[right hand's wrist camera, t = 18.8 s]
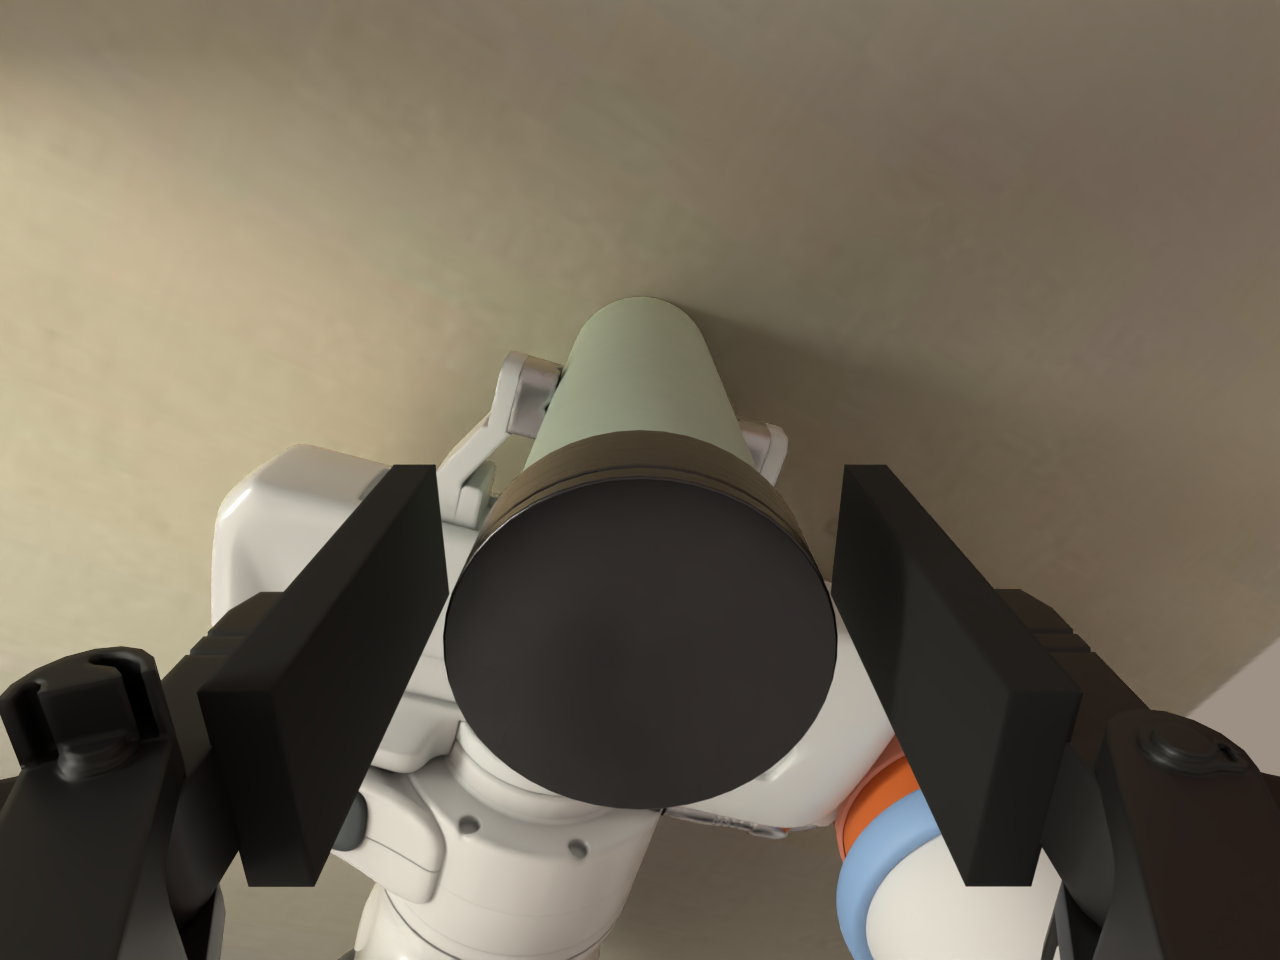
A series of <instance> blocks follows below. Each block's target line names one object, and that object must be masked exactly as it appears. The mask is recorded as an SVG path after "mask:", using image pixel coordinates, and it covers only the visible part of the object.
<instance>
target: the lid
mask: <svg viewBox="0 0 1280 960" xmlns="http://www.w3.org/2000/svg"><path fill="white" fill-rule="evenodd" d="M837 647H838V633H837V624H836V616H835V611H834V608H833V604H832V601H831V597H830V594H829V591H828V589H827V587H826V585H825V582H824V580H823V578H822V576H821V574H820V572H819V569H818V567H817V565H816V563H815V561H814V559H813V556H812V554H811V552H810V550H809V548H808V545H807V543H806V541H805V539H804V537H803V535H802V532H801V530H800V528H799V526H798V524H797V522H796V519H795V517H794V515H793V513H792V512H791V510H790V509H789V507H788V506H787V504H786V502H785V501H784V499H783V498H782V496H781V495H780V494H779V493H778V492H777V491H776V489H775V488H774V487H773V486H772V485H771V484H770V483H769V481H768V480H767V479H765V478H764V477H763V476H762V475H761V474H760V473H758V472H757V471H756V470H755V469H754V468H753V467H751V466H750V465H749V464H747V463H746V462H744V461H743V460H741V459H740V458H738V457H736V456H735V455H733V454H732V453H730V452H728V451H726V450H724V449H721V448H719V447H717V446H715V445H713V444H711V443H708V442H705V441H702V440H699V439H696V438H693V437H690V436H686V435H680V434H675V433H670V432H664V431H648V430H632V431H617V432H611V433H606V434H601V435H595V436H591V437H588V438H585V439H582V440H579V441H576V442H573V443H570V444H568V445H566V446H564V447H561V448H559V449H557V450H555V451H553V452H551V453H549V454H547V455H546V456H544V457H543V458H541V459H540V460H538V461H537V462H535V463H534V464H532V465H531V466H529V467H528V468H527V469H526V470H525V471H523V472H522V473H521V474H520V475H519V476H518V477H517V478H515V479H514V480H513V481H512V482H511V483H510V485H509V486H508V487H507V488H506V489H505V490H504V491H503V493H502V494H501V495H500V496H499V497H498V499H497V501H496V502H495V504H494V505H493V507H492V508H491V510H490V511H489V513H488V514H487V517H486V519H485V521H484V523H483V525H482V528H481V530H480V532H479V534H478V536H477V538H476V541H475V543H474V545H473V547H472V549H471V552H470V554H469V556H468V558H467V560H466V562H465V565H464V567H463V569H462V571H461V573H460V576H459V578H458V580H457V582H456V584H455V587H454V589H453V591H452V593H451V597H450V600H449V604H448V608H447V611H446V615H445V623H444V632H443V651H444V662H445V667H446V672H447V677H448V682H449V684H450V687H451V690H452V693H453V696H454V698H455V701H456V703H457V705H458V707H459V709H460V711H461V713H462V714H463V716H464V718H465V720H466V722H467V723H468V724H469V726H470V727H471V729H472V730H473V731H474V733H475V734H476V736H477V737H478V738H479V739H480V740H481V742H482V743H483V744H484V745H485V746H486V747H487V748H488V749H489V750H490V751H491V752H492V753H493V754H494V755H495V756H496V757H497V758H499V759H500V760H501V761H502V762H503V763H505V764H506V765H507V766H508V767H509V768H511V769H512V770H514V771H515V772H517V773H518V774H520V775H521V776H523V777H524V778H526V779H527V780H529V781H531V782H533V783H535V784H537V785H539V786H541V787H543V788H545V789H547V790H549V791H551V792H554V793H556V794H559V795H562V796H564V797H567V798H570V799H573V800H577V801H581V802H584V803H588V804H592V805H597V806H604V807H611V808H617V809H638V810H643V809H663V808H670V807H677V806H683V805H689V804H693V803H696V802H700V801H704V800H708V799H711V798H714V797H716V796H719V795H722V794H724V793H727V792H730V791H732V790H734V789H736V788H738V787H740V786H742V785H744V784H746V783H748V782H750V781H752V780H753V779H755V778H756V777H758V776H760V775H761V774H763V773H764V772H766V771H767V770H769V769H770V768H771V767H773V766H774V765H775V764H776V763H777V762H779V761H780V760H781V759H782V758H783V757H785V756H786V755H787V754H788V753H789V752H790V751H791V750H792V749H793V748H794V747H795V746H796V744H797V743H798V742H799V741H800V740H801V739H802V738H803V737H804V735H805V734H806V733H807V731H808V730H809V728H810V727H811V726H812V724H813V723H814V721H815V720H816V718H817V716H818V714H819V712H820V710H821V708H822V707H823V705H824V703H825V701H826V698H827V695H828V692H829V689H830V687H831V684H832V681H833V677H834V672H835V666H836V661H837Z"/></svg>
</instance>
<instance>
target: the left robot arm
mask: <svg viewBox="0 0 1280 960" xmlns="http://www.w3.org/2000/svg"><path fill="white" fill-rule="evenodd" d="M562 370H563V365H560V364H557V363H554V362H550V361H547V360H544V359H540V358H537V357H534V356H531V355H529V354H525V353H521V352H517V351H513V350H511V351H510V353H509V354H508V355H507V357H506V358H505V360H504V363H503V366H502V369H501V372H500V375H499V378H498V383H497V387H496V391H495V396H494V400H493V405H492V409H491V411H490V412H489V413H488V414H487V415H486V416H485V417H484V418H483V419H482V420H481V421H480V422H479V423H478V424H477V425H476V426H475V427H474V428H473V429H472V430H471V431H470V432H469V433H468V434H467V435H466V436H465V437H464V438H463V439H462V440H461V441H460V442H459V443H458V444H457V445H456V446H455V447H454V448H453V449H452V450H451V451H450V452H449V454H448V455H447V457H446V458H445V459H444V461H443V462H442V464H441V465H440V467H439V468H438V469H437V471H436V475H437V484H438V493H439V503H440V512H441V521H442V530H443V539H444V549H445V558H446V567H447V576H448V585H449V596H448V598H447V601H446V603H445V605H444V607H443V609H442V611H441V614H440V616H439V618H438V620H437V622H436V624H435V627H434V629H433V631H432V633H431V635H430V637H429V640H428V642H427V644H426V646H425V648H424V650H423V653H422V655H421V657H420V659H419V661H418V663H417V666H416V668H415V670H414V672H413V674H412V676H411V679H410V681H409V683H408V685H407V687H406V689H405V692H404V694H403V696H402V698H401V700H400V702H399V704H398V707H397V709H396V711H395V713H394V715H393V717H392V720H391V722H390V724H389V726H388V728H387V730H386V733H385V735H384V737H383V739H382V741H381V743H380V746H379V748H378V750H377V752H376V754H375V756H374V759H373V761H372V763H371V765H370V767H369V769H368V772H367V774H366V776H365V778H364V780H363V782H362V785H361V787H360V789H359V791H358V793H357V795H356V798H355V800H354V802H353V804H352V806H351V808H350V811H349V813H348V815H347V817H346V819H345V821H344V823H343V826H342V828H341V830H340V832H339V834H338V836H337V839H336V841H335V843H334V845H333V847H332V849H331V852H330V853H332V854H334V855H335V856H337V857H339V858H340V859H342V860H344V861H345V862H347V863H348V864H350V865H352V866H353V867H355V868H356V869H358V870H359V871H361V872H362V873H364V874H365V875H367V876H368V877H369V878H371V879H372V880H374V881H375V882H376V883H375V885H374V887H373V889H372V891H371V893H370V895H369V897H368V899H367V902H366V904H365V907H364V910H363V913H362V917H361V920H360V924H359V928H358V933H357V937H356V942H355V948H354V949H352V950H351V951H349V952H348V953H346V954H345V955H343V956H342V957H341V958H339V959H338V960H599V954H600V944H601V943H602V942H603V941H604V939H605V938H606V937H607V936H608V934H609V933H610V932H611V930H612V929H613V927H614V925H615V923H616V922H617V920H618V918H619V916H620V915H621V913H622V910H623V908H624V905H625V903H626V901H627V898H628V896H629V893H630V891H631V888H632V886H633V883H634V881H635V878H636V876H637V873H638V870H639V868H640V865H641V863H642V860H643V858H644V855H645V853H646V850H647V848H648V845H649V843H650V840H651V838H652V835H653V833H654V830H655V828H656V825H657V823H658V820H659V818H660V815H662V816H667V817H671V818H675V819H680V820H684V821H689V822H693V823H698V824H703V825H711V826H712V825H713V826H722V827H730V828H736V829H739V830H744V831H746V832H747V833H748V834H750V835H753V836H756V837H760V838H765V839H785V838H786V837H787V836H788V833H789V831H803V830H809V829H812V828H815V827H818V826H821V827H824V826H828V825H830V824H832V823H833V822H834V821H835V820H836V817H837V811H838V808H839V805H840V804H841V803H842V802H843V801H844V800H845V799H846V798H847V797H848V796H849V794H850V793H851V792H852V791H853V790H854V788H855V787H856V786H857V785H858V784H859V782H860V781H861V780H862V779H863V777H864V776H865V775H866V774H867V772H868V771H869V770H870V768H871V767H872V766H873V764H874V763H875V762H876V760H877V759H878V758H879V756H880V755H881V754H882V752H883V751H884V749H885V748H886V746H887V745H888V744H889V742H890V741H891V739H892V738H893V736H894V735H895V733H894V730H893V728H892V726H891V724H890V722H889V720H888V717H887V715H886V713H885V711H884V709H883V707H882V704H881V702H880V700H879V698H878V696H877V694H876V692H875V689H874V687H873V685H872V683H871V681H870V679H869V676H868V674H867V672H866V670H865V668H864V666H863V663H862V661H861V659H860V657H859V655H858V653H857V650H856V648H855V646H854V644H853V642H852V640H851V637H850V635H849V633H848V631H847V629H846V627H845V624H844V622H843V620H842V618H841V616H840V614H839V611H838V609H837V607H836V605H835V603H834V601H833V598H832V596H831V585H832V583H831V582H828V581H824V582H825V585H826V587H827V589H828V591H829V594H830V597H831V601H832V604H833V608H834V611H835V616H836V624H837V633H838V647H837V661H836V666H835V672H834V677H833V681H832V684H831V687H830V689H829V692H828V695H827V698H826V701H825V703H824V705H823V707H822V708H821V710H820V712H819V714H818V716H817V718H816V720H815V721H814V723H813V724H812V726H811V727H810V728H809V730H808V731H807V733H806V734H805V735H804V737H803V738H802V739H801V740H800V741H799V742H798V743H797V744H796V746H795V747H794V748H793V749H792V750H791V751H790V752H789V753H788V754H787V755H786V756H785V757H783V758H782V759H781V760H780V761H779V762H777V763H776V764H775V765H774V766H773V767H771V768H770V769H769V770H767V771H766V772H764V773H763V774H761V775H760V776H758V777H756V778H755V779H753V780H752V781H750V782H748V783H746V784H744V785H742V786H740V787H738V788H736V789H734V790H732V791H730V792H727V793H724V794H722V795H719V796H716V797H714V798H711V799H708V800H704V801H700V802H696V803H693V804H689V805H683V806H677V807H670V808H663V809H643V810H638V809H617V808H611V807H604V806H597V805H592V804H588V803H584V802H581V801H577V800H573V799H570V798H567V797H564V796H562V795H559V794H556V793H554V792H551V791H549V790H547V789H545V788H543V787H541V786H539V785H537V784H535V783H533V782H531V781H529V780H527V779H526V778H524V777H523V776H521V775H520V774H518V773H517V772H515V771H514V770H512V769H511V768H509V767H508V766H507V765H506V764H505V763H503V762H502V761H501V760H500V759H499V758H497V757H496V756H495V755H494V754H493V753H492V752H491V751H490V750H489V749H488V748H487V747H486V746H485V745H484V744H483V743H482V742H481V740H480V739H479V738H478V737H477V736H476V734H475V733H474V731H473V730H472V729H471V727H470V726H469V724H468V723H467V722H466V720H465V718H464V716H463V714H462V713H461V711H460V709H459V707H458V705H457V703H456V701H455V698H454V696H453V693H452V690H451V687H450V684H449V682H448V677H447V672H446V667H445V662H444V651H443V632H444V623H445V615H446V611H447V608H448V604H449V600H450V597H451V593H452V591H453V589H454V587H455V584H456V582H457V580H458V578H459V576H460V573H461V571H462V569H463V567H464V565H465V562H466V560H467V558H468V556H469V554H470V552H471V549H472V547H473V545H474V543H475V541H476V538H477V536H478V534H479V532H480V530H481V528H482V525H483V523H484V521H485V519H486V517H487V514H488V513H489V511H490V510H491V508H492V507H493V505H494V504H495V502H496V501H497V499H498V497H499V496H500V495H498V494H494V493H491V489H492V484H493V479H494V475H495V470H496V465H495V464H494V462H491V461H487V460H486V459H487V458H488V457H489V456H490V455H491V454H492V453H493V452H494V451H495V450H496V449H497V448H498V447H499V446H500V445H501V444H502V443H503V442H504V441H505V440H506V439H507V438H508V437H509V436H510V435H511V434H512V433H513V434H517V435H521V436H525V437H529V438H533V439H536V437H537V435H538V432H539V430H540V427H541V425H542V422H543V420H544V417H545V415H546V412H547V410H548V407H549V405H550V403H551V400H552V398H553V395H554V393H555V390H556V388H557V385H558V383H559V380H560V378H561V374H562ZM735 416H736V419H737V421H738V423H739V426H740V428H741V431H742V433H743V436H744V438H745V441H746V443H747V446H748V448H749V450H750V453H751V455H752V458H753V460H754V463H755V465H756V468H757V470H758V473H760V474H761V475H762V476H763V477H764V478H765V479H767V480H768V481H769V483H770V484H771V485H772V486H773V487H774V486H775V483H776V481H777V478H778V475H779V473H780V470H781V468H782V465H783V462H784V460H785V457H786V455H787V448H788V438H787V436H786V434H785V432H784V431H783V429H782V427H780V426H776V425H773V424H769V423H766V422H763V421H759V420H755V419H751V418H748V417H744V416H740V415H737V414H735ZM392 467H393V466H389V465H385V464H381V463H377V462H374V461H370V460H366V459H362V458H359V457H355V456H351V455H347V454H343V453H340V452H336V451H332V450H329V449H325V448H321V447H318V446H313V445H308V444H298V445H294V446H292V447H290V448H288V449H286V450H284V451H283V452H281V453H279V454H278V455H276V456H274V457H273V458H271V459H269V460H268V461H266V462H265V463H263V464H262V465H260V466H259V467H257V468H256V469H254V470H253V471H252V472H251V473H249V474H248V475H247V476H246V477H245V478H244V479H242V480H241V481H240V482H239V483H238V484H236V485H235V487H234V488H233V489H232V490H231V491H230V492H229V493H228V495H227V496H226V497H225V499H224V500H223V502H222V504H221V506H220V508H219V511H218V514H217V518H216V524H215V531H214V540H213V552H212V573H211V615H212V627H213V626H214V625H215V624H216V623H217V622H218V621H219V620H220V619H221V618H222V617H223V616H224V615H225V614H226V613H227V612H228V611H229V610H230V609H232V608H234V607H235V606H237V605H239V604H240V603H242V602H244V601H246V600H247V599H249V598H251V597H252V596H254V595H256V594H257V593H259V592H284V591H285V590H286V588H287V587H288V586H289V585H290V584H291V583H292V581H293V580H294V579H295V578H296V577H297V576H298V575H299V573H300V572H301V571H302V570H303V569H304V568H305V567H306V565H307V564H308V563H309V562H310V561H311V560H312V558H313V557H314V556H315V555H316V554H317V553H318V552H319V550H320V549H321V548H322V547H323V546H324V545H325V544H326V542H327V541H328V540H329V539H330V538H331V537H332V536H333V534H334V533H335V532H336V531H337V530H338V529H339V527H340V526H341V525H342V524H343V523H344V522H345V521H346V519H347V518H348V517H349V516H350V515H351V514H352V513H353V511H354V510H355V509H356V508H357V507H358V506H359V504H360V503H361V502H362V501H363V500H364V499H365V498H366V496H367V495H368V494H369V493H370V492H371V491H372V490H373V488H374V487H375V486H376V485H377V484H378V483H379V481H380V480H381V479H382V478H383V477H384V476H385V475H386V473H387V472H388V471H389V470H390V469H391V468H392Z"/></svg>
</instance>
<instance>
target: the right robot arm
mask: <svg viewBox="0 0 1280 960" xmlns="http://www.w3.org/2000/svg"><path fill="white" fill-rule="evenodd" d="M448 596H449V585H448V576H447V567H446V558H445V549H444V539H443V530H442V521H441V512H440V503H439V493H438V484H437V475H436V466H435V465H393V467H392V468H391V469H390V470H389V471H388V472H387V473H386V475H385V476H384V477H383V478H382V479H381V480H380V481H379V483H378V484H377V485H376V486H375V487H374V488H373V490H372V491H371V492H370V493H369V494H368V495H367V496H366V498H365V499H364V500H363V501H362V502H361V503H360V504H359V506H358V507H357V508H356V509H355V510H354V511H353V513H352V514H351V515H350V516H349V517H348V518H347V519H346V521H345V522H344V523H343V524H342V525H341V526H340V527H339V529H338V530H337V531H336V532H335V533H334V534H333V536H332V537H331V538H330V539H329V540H328V541H327V542H326V544H325V545H324V546H323V547H322V548H321V549H320V550H319V552H318V553H317V554H316V555H315V556H314V557H313V558H312V560H311V561H310V562H309V563H308V564H307V565H306V567H305V568H304V569H303V570H302V571H301V572H300V573H299V575H298V576H297V577H296V578H295V579H294V580H293V581H292V583H291V584H290V585H289V586H288V587H287V588H286V590H285V591H284V592H259V593H257V594H256V595H254V596H252V597H251V598H249V599H247V600H246V601H244V602H242V603H240V604H239V605H237V606H235V607H234V608H232V609H230V610H229V611H228V612H227V613H226V614H225V615H224V616H223V617H222V618H221V619H220V620H219V621H218V622H217V623H216V624H215V625H214V626H213V627H212V628H211V629H210V630H209V631H208V636H207V637H203V638H202V639H201V640H200V641H199V642H198V643H197V644H196V645H195V646H194V647H193V648H192V649H191V650H190V655H185V656H184V657H183V658H182V660H181V661H180V662H179V663H178V664H177V665H176V666H175V667H174V668H173V669H172V670H171V671H170V672H169V673H168V674H167V675H166V676H165V677H164V678H163V679H162V680H160V677H159V673H158V670H157V666H156V663H155V659H154V657H153V656H151V655H150V654H148V653H147V652H145V651H144V650H142V649H137V648H130V647H122V646H120V647H110V648H100V649H93V650H89V651H85V652H81V653H78V654H74V655H70V656H66V657H63V658H61V659H59V660H56V661H54V662H52V663H49V664H47V665H44V666H42V667H40V668H37V669H35V670H34V671H32V672H30V673H29V674H27V675H26V676H24V677H23V678H21V679H19V680H18V681H16V682H15V683H13V684H11V685H10V686H9V687H8V688H7V689H6V691H5V692H4V693H3V694H2V695H1V696H0V715H1V718H2V721H3V723H4V726H5V728H6V731H7V733H8V736H9V738H10V741H11V743H12V746H13V749H14V751H15V754H16V756H17V759H18V761H19V764H20V766H21V769H22V770H21V772H20V774H19V776H17V777H12V778H7V779H3V780H0V960H220V955H221V947H222V939H223V931H224V923H225V914H226V913H225V906H224V900H223V895H222V892H221V888H220V885H219V882H220V880H221V879H222V877H223V875H224V874H225V872H226V870H227V869H228V867H229V865H230V864H231V862H232V860H233V859H234V857H235V855H236V854H237V852H238V850H239V853H240V856H241V860H242V864H243V868H244V871H245V875H246V879H247V882H248V886H249V887H314V886H315V884H316V882H317V880H318V878H319V875H320V873H321V871H322V869H323V867H324V865H325V862H326V860H327V858H328V856H329V854H330V852H331V849H332V847H333V845H334V843H335V841H336V839H337V836H338V834H339V832H340V830H341V828H342V826H343V823H344V821H345V819H346V817H347V815H348V813H349V811H350V808H351V806H352V804H353V802H354V800H355V798H356V795H357V793H358V791H359V789H360V787H361V785H362V782H363V780H364V778H365V776H366V774H367V772H368V769H369V767H370V765H371V763H372V761H373V759H374V756H375V754H376V752H377V750H378V748H379V746H380V743H381V741H382V739H383V737H384V735H385V733H386V730H387V728H388V726H389V724H390V722H391V720H392V717H393V715H394V713H395V711H396V709H397V707H398V704H399V702H400V700H401V698H402V696H403V694H404V692H405V689H406V687H407V685H408V683H409V681H410V679H411V676H412V674H413V672H414V670H415V668H416V666H417V663H418V661H419V659H420V657H421V655H422V653H423V650H424V648H425V646H426V644H427V642H428V640H429V637H430V635H431V633H432V631H433V629H434V627H435V624H436V622H437V620H438V618H439V616H440V614H441V611H442V609H443V607H444V605H445V603H446V601H447V598H448ZM831 596H832V598H833V601H834V603H835V605H836V607H837V609H838V611H839V614H840V616H841V618H842V620H843V622H844V624H845V627H846V629H847V631H848V633H849V635H850V637H851V640H852V642H853V644H854V646H855V648H856V650H857V653H858V655H859V657H860V659H861V661H862V663H863V666H864V668H865V670H866V672H867V674H868V676H869V679H870V681H871V683H872V685H873V687H874V689H875V692H876V694H877V696H878V698H879V700H880V702H881V704H882V707H883V709H884V711H885V713H886V715H887V717H888V720H889V722H890V724H891V726H892V728H893V730H894V733H895V735H896V737H897V739H898V741H899V743H900V746H901V748H902V750H903V752H904V754H905V756H906V759H907V761H908V763H909V765H910V767H911V769H912V772H913V774H914V776H915V778H916V780H917V782H918V785H919V787H920V789H921V791H922V793H923V795H924V798H925V800H926V802H927V804H928V806H929V808H930V811H931V813H932V815H933V817H934V819H935V821H936V824H937V826H938V828H939V830H940V832H941V834H942V836H943V839H944V841H945V843H946V845H947V847H948V849H949V852H950V854H951V856H952V858H953V860H954V862H955V865H956V867H957V869H958V871H959V873H960V875H961V878H962V880H963V882H964V884H965V886H966V887H1031V886H1032V882H1033V879H1034V875H1035V871H1036V868H1037V864H1038V860H1039V856H1040V853H1041V849H1042V848H1043V850H1044V851H1045V853H1046V855H1047V856H1048V858H1049V860H1050V861H1051V863H1052V865H1053V866H1054V868H1055V870H1056V871H1057V873H1058V875H1059V876H1060V878H1061V880H1062V881H1061V885H1060V888H1059V892H1058V895H1057V899H1056V902H1055V905H1054V909H1053V912H1052V916H1051V919H1050V923H1049V926H1048V930H1047V933H1046V937H1045V940H1044V944H1043V949H1042V956H1041V960H1053V958H1054V955H1055V952H1056V948H1057V947H1058V946H1059V953H1060V960H1280V777H1279V776H1275V775H1270V774H1265V773H1262V772H1260V770H1259V769H1258V767H1257V766H1256V765H1255V764H1254V762H1253V761H1252V760H1251V758H1250V757H1249V756H1248V755H1247V753H1246V752H1245V751H1244V750H1243V749H1241V748H1240V747H1239V746H1237V745H1236V744H1235V743H1233V742H1232V741H1231V740H1229V739H1228V738H1226V737H1225V736H1224V735H1222V734H1221V733H1219V732H1217V731H1215V730H1213V729H1211V728H1209V727H1207V726H1205V725H1203V724H1201V723H1199V722H1196V721H1194V720H1191V719H1188V718H1185V717H1182V716H1178V715H1175V714H1172V713H1169V712H1165V711H1156V710H1150V709H1149V708H1148V707H1147V706H1146V705H1145V704H1144V703H1143V701H1142V700H1141V699H1140V698H1139V697H1138V696H1137V695H1136V694H1135V693H1134V692H1133V691H1132V690H1131V689H1130V688H1129V687H1128V686H1127V685H1126V684H1125V683H1124V682H1123V681H1122V680H1121V679H1120V678H1119V677H1118V676H1117V675H1116V674H1115V673H1114V672H1113V670H1112V669H1111V668H1110V667H1109V666H1108V665H1107V664H1106V663H1105V662H1104V661H1103V660H1102V659H1101V658H1100V657H1099V656H1098V655H1097V654H1096V653H1095V652H1091V650H1090V647H1089V646H1088V645H1087V644H1086V643H1085V642H1084V640H1083V639H1082V638H1081V637H1080V636H1079V635H1078V634H1073V629H1072V628H1071V627H1070V626H1069V625H1068V624H1067V623H1066V622H1065V621H1064V620H1063V619H1062V618H1061V617H1060V616H1059V615H1058V614H1057V613H1056V612H1055V611H1054V609H1053V608H1051V607H1050V606H1048V605H1046V604H1044V603H1043V602H1041V601H1039V600H1038V599H1036V598H1034V597H1032V596H1031V595H1029V594H1027V593H1026V592H1024V591H1022V590H1020V589H994V588H993V587H992V586H991V585H990V584H989V583H988V581H987V580H986V579H985V578H984V577H983V576H982V575H981V573H980V572H979V571H978V570H977V569H976V568H975V567H974V565H973V564H972V563H971V562H970V561H969V560H968V558H967V557H966V556H965V555H964V554H963V553H962V552H961V550H960V549H959V548H958V547H957V546H956V545H955V544H954V542H953V541H952V540H951V539H950V538H949V537H948V536H947V534H946V533H945V532H944V531H943V530H942V529H941V527H940V526H939V525H938V524H937V523H936V522H935V521H934V519H933V518H932V517H931V516H930V515H929V514H928V513H927V511H926V510H925V509H924V508H923V507H922V506H921V504H920V503H919V502H918V501H917V500H916V499H915V498H914V496H913V495H912V494H911V493H910V492H909V491H908V490H907V488H906V487H905V486H904V485H903V484H902V483H901V481H900V480H899V479H898V478H897V477H896V476H895V475H894V473H893V472H892V471H891V470H890V469H889V468H888V467H887V465H845V466H844V475H843V484H842V493H841V503H840V512H839V521H838V530H837V539H836V549H835V558H834V567H833V576H832V585H831Z"/></svg>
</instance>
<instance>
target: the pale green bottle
mask: <svg viewBox="0 0 1280 960" xmlns="http://www.w3.org/2000/svg"><path fill="white" fill-rule="evenodd" d="M632 430H648V431H664V432H670V433H675V434H680V435H686V436H690V437H693V438H696V439H699V440H702V441H705V442H708V443H711V444H713V445H715V446H717V447H719V448H721V449H724V450H726V451H728V452H730V453H732V454H733V455H735V456H736V457H738V458H740V459H741V460H743V461H744V462H746V463H747V464H749V465H750V466H751V467H753V468H754V469H755V470H756V471H757V472H758V470H757V468H756V465H755V463H754V460H753V458H752V455H751V453H750V450H749V448H748V446H747V443H746V441H745V438H744V436H743V433H742V431H741V428H740V426H739V423H738V421H737V419H736V416H735V414H734V411H733V409H732V406H731V404H730V401H729V399H728V396H727V394H726V392H725V389H724V387H723V384H722V382H721V379H720V377H719V374H718V372H717V369H716V367H715V365H714V362H713V360H712V357H711V355H710V352H709V350H708V347H707V345H706V342H705V340H704V338H703V335H702V334H701V332H700V330H699V328H698V327H697V325H696V324H695V323H694V321H693V320H692V319H691V318H690V317H689V316H688V315H687V314H686V313H684V312H683V311H682V310H681V309H679V308H678V307H676V306H674V305H673V304H670V303H668V302H666V301H663V300H660V299H656V298H651V297H629V298H624V299H620V300H617V301H615V302H612V303H610V304H608V305H606V306H604V307H603V308H601V309H600V310H598V311H597V312H596V313H595V314H593V315H592V316H591V318H590V319H589V320H588V321H587V322H586V323H585V325H584V326H583V327H582V329H581V331H580V332H579V334H578V336H577V338H576V341H575V343H574V346H573V348H572V351H571V353H570V356H569V358H568V361H567V363H566V366H565V368H564V370H563V373H562V375H561V378H560V380H559V383H558V385H557V388H556V390H555V393H554V395H553V398H552V400H551V403H550V405H549V407H548V410H547V412H546V415H545V417H544V420H543V422H542V425H541V427H540V430H539V432H538V435H537V437H536V440H535V442H534V444H533V447H532V449H531V452H530V454H529V457H528V459H527V462H526V464H525V467H524V469H523V471H525V470H526V469H527V468H528V467H529V466H531V465H532V464H534V463H535V462H537V461H538V460H540V459H541V458H543V457H544V456H546V455H547V454H549V453H551V452H553V451H555V450H557V449H559V448H561V447H564V446H566V445H568V444H570V443H573V442H576V441H579V440H582V439H585V438H588V437H591V436H595V435H601V434H606V433H611V432H617V431H632Z"/></svg>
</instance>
